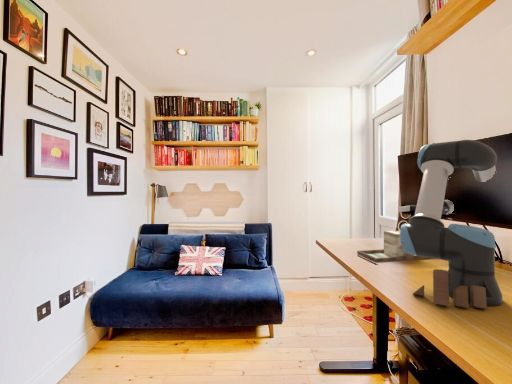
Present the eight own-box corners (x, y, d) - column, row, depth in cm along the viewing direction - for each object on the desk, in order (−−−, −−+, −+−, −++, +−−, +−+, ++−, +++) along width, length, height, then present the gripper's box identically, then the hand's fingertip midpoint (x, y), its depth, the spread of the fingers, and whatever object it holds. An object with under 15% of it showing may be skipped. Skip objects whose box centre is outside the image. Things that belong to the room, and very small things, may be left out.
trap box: (375, 264, 115) (375, 258, 115) (357, 256, 129) (357, 250, 129) (453, 259, 122) (453, 253, 122) (427, 252, 137) (427, 246, 137)
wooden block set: (482, 314, 74) (480, 280, 77) (492, 315, 67) (489, 277, 70) (412, 299, 83) (413, 268, 86) (414, 298, 76) (415, 265, 79)
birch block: (396, 258, 120) (396, 234, 120) (383, 253, 129) (383, 231, 128) (413, 257, 121) (413, 233, 121) (400, 252, 130) (400, 230, 130)
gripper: (467, 217, 118) (432, 222, 114) (422, 211, 143) (391, 214, 138) (467, 202, 118) (432, 206, 113) (422, 198, 142) (391, 201, 138)
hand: (409, 210), depth 126 cm, fingers open, 13 cm apart
